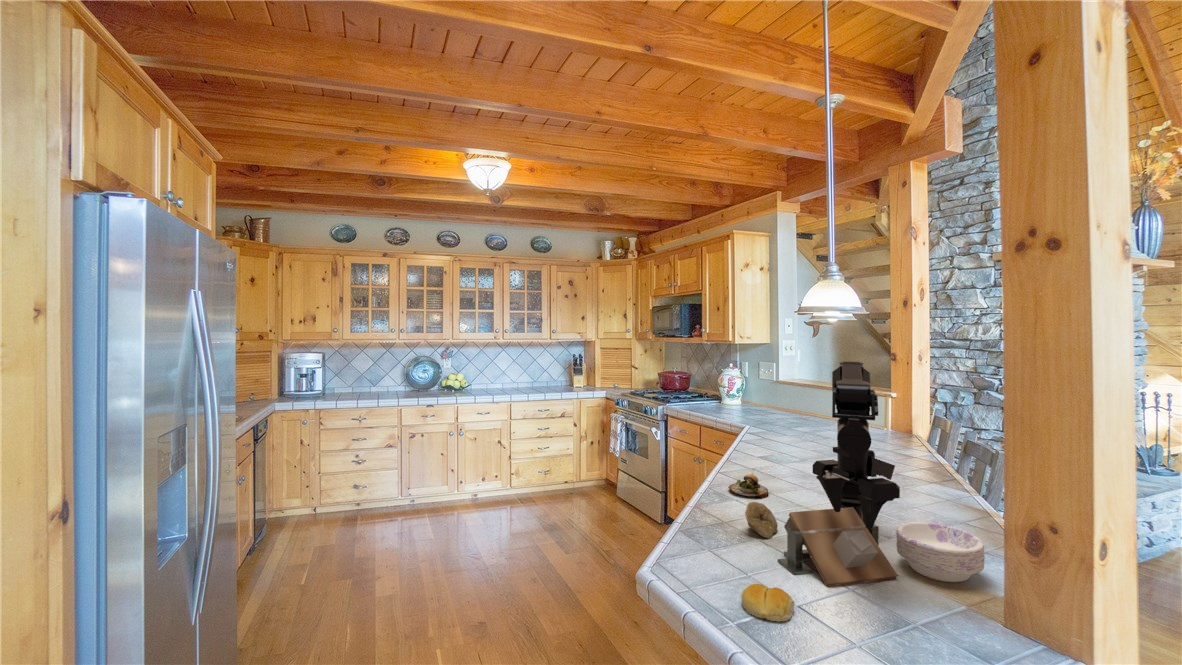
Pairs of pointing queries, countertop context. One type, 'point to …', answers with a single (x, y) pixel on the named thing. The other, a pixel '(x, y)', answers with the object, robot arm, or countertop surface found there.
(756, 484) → the burger
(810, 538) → the trapdoor
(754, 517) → the fossil
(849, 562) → the gray block
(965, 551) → the paper bowls
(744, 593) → the bread roll
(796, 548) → the trapdoor frame
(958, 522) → the countertop surface
